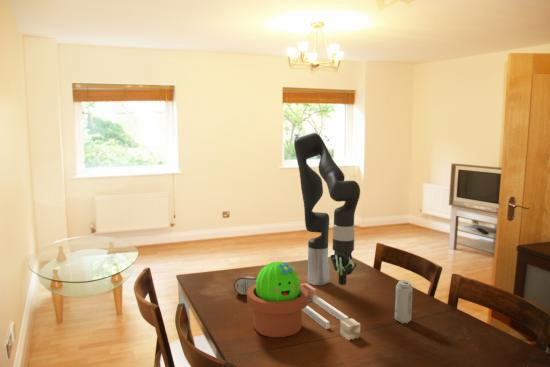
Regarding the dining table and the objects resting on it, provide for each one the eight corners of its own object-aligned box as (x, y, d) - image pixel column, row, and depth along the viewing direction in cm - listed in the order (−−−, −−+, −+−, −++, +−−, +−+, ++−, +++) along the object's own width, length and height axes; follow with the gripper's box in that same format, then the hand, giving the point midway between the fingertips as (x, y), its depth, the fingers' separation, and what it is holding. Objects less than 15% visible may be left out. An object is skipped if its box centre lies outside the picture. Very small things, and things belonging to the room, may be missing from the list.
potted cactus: (240, 318, 165) (239, 255, 161) (293, 310, 172) (293, 249, 169) (258, 346, 144) (258, 274, 141) (317, 335, 152) (318, 267, 149)
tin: (268, 294, 188) (268, 275, 187) (267, 297, 185) (267, 278, 184) (234, 292, 190) (234, 274, 189) (233, 295, 187) (233, 276, 186)
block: (351, 331, 155) (351, 318, 154) (360, 337, 151) (360, 324, 150) (339, 334, 153) (340, 321, 152) (348, 340, 149) (348, 327, 148)
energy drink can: (396, 315, 168) (398, 278, 165) (412, 319, 165) (414, 281, 163) (392, 322, 162) (394, 283, 160) (409, 325, 159) (411, 286, 157)
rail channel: (306, 294, 188) (306, 283, 188) (348, 323, 161) (348, 310, 160) (286, 298, 184) (286, 286, 183) (325, 329, 156) (326, 316, 156)
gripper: (363, 240, 147) (362, 289, 150) (341, 231, 159) (340, 276, 161) (345, 243, 144) (344, 292, 146) (324, 234, 156) (323, 280, 158)
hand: (342, 284), depth 154 cm, fingers closed
